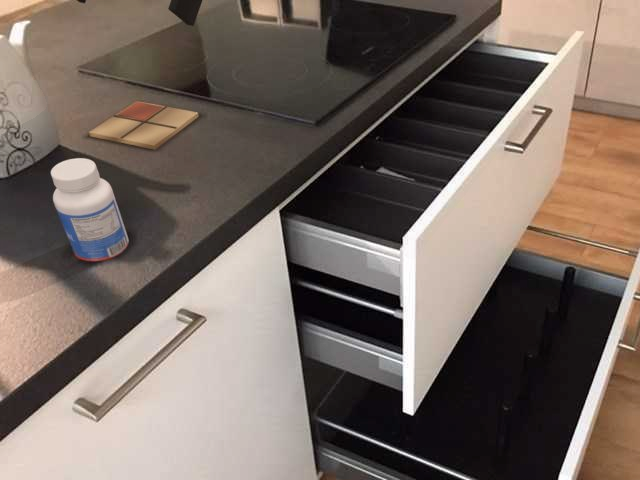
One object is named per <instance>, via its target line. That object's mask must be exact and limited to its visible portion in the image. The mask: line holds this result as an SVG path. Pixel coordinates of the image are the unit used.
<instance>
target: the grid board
mask: <svg viewBox="0 0 640 480" xmlns="http://www.w3.org/2000/svg"><path fill="white" fill-rule="evenodd" d="M199 115H200V114H199V112H197V111H192V110H187V109H182V108H181V109H180V108H175V107H172V106H171V107H170V106H167V105H160V104H155V103H150V102H143V101H139V100H136V101H135V102H133V103H131V104H130V105H129V106H127V107H125V108H124V109H121V111H119V112H117V113H116V114H114V115H112V116H111V117H110V118H109V119H107V120H105V121H104V122H102V123H101V124H99V125H98V126H96V127H94V128H93V129H91V130H90V131H88V134H89V137H93V138H98V139H102V140H107V141H111V142H116V143H121V144H126V145H131V146H136V147H140V148H146V149H150V150H157V149H158V148H159V147H161V146H162V145H163V144H165V143H166V142H167V141H168V140H170V139H171V138H172V137H174V136H175V135H176V134H178V133H179V132H180V131H182V130H183V129H184V128H186V127H187V126H188V125H189V124H191V123H192V122H194V121H195V120H197V118H198V117H200V116H199Z"/></svg>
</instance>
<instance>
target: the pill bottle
mask: <svg viewBox="0 0 640 480" xmlns="http://www.w3.org/2000/svg"><path fill="white" fill-rule="evenodd" d="M50 176H51V178H52V181H53V182H52V183H53V185H54V187H55V190H54V191H53V194H52V201H53V205H54V207H55V209H56V212H57V214H58V216H59V219H60V222H61V225H62V227H63V229H64V232H65V234H66V237H67V239H68V242H69V244H70V247H71V250H72V251H73V254H74V256H75V257H76V258H78V259H79V260H81V261H86V262H102V261H105V260H110V259H112V258H115V257H117V256H118V255H120V254H122V253H123V252H124V251H125V250H126V249H127V247H128V245H129V243H130V242H129V241H130V240H129V237H128V233H127V230H126V226H125V225H124V221H123V218H122V214H121V212H120V208H119V206H118V203H117V201H116V200H117V199H116V197H115V193H114V191H113V188H112V186H111V184H110V183H109V182H108V181H107V180H106V179H104V178H102V177H100V172H99V170H98V166H97V165H96V163H95V161H93V160H91V159H90V158H85V157H83V158H82V157H76V158H69V159H66V160H63V161H61V162H58V163H56V165H54V166H53V167H52V168H51V170H50Z"/></svg>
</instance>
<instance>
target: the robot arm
mask: <svg viewBox="0 0 640 480" xmlns="http://www.w3.org/2000/svg"><path fill="white" fill-rule="evenodd" d="M76 1H77V2H78V3H81V4H86V2H87V0H76ZM202 2H203V0H170V2H169V5H168V7H167V9H168V11H170V12H171V13H172V14H173V15H175V16H176V17H177V18H178V19H180V20H181V21H182V22H183V23H185V24H186V26H192V27H194V26H195V23H196V20H197V17H198V15H199V11H200V8H201V6H202V4H203V3H202Z"/></svg>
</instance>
